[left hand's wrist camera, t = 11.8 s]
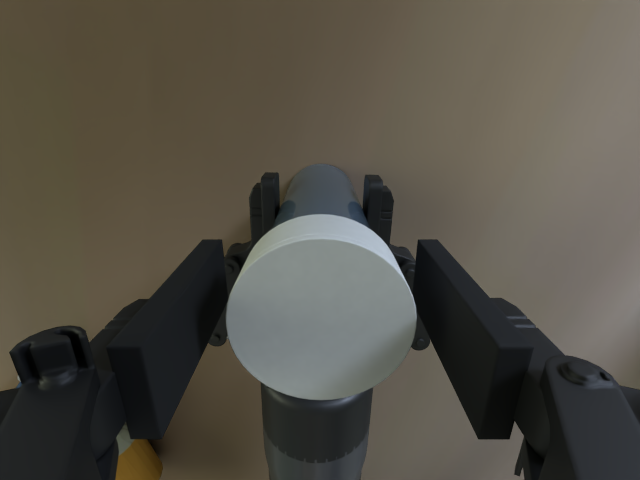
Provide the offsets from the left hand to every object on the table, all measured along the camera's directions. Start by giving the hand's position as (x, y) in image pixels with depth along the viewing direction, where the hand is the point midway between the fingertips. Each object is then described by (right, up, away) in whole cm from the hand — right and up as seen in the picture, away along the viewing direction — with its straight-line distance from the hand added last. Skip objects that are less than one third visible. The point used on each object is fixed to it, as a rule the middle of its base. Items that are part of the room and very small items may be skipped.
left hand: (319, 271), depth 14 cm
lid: (0, -1, -3) cm, 4 cm away
